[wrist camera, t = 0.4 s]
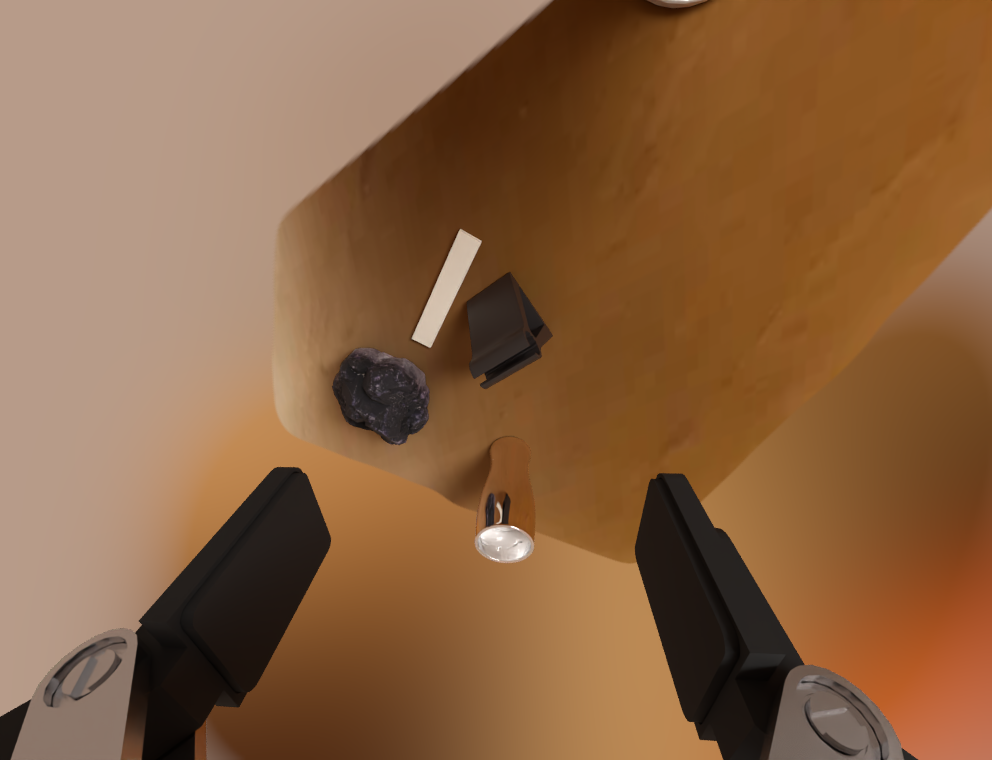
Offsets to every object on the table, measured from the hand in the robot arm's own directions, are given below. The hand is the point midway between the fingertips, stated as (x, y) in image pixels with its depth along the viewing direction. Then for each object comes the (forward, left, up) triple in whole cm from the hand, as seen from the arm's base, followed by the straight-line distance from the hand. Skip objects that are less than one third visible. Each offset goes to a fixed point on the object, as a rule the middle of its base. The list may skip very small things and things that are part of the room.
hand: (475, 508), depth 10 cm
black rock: (+23, -7, -33) cm, 41 cm away
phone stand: (+6, +3, -33) cm, 34 cm away
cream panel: (+7, -5, -33) cm, 34 cm away
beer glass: (+24, +13, -33) cm, 43 cm away
